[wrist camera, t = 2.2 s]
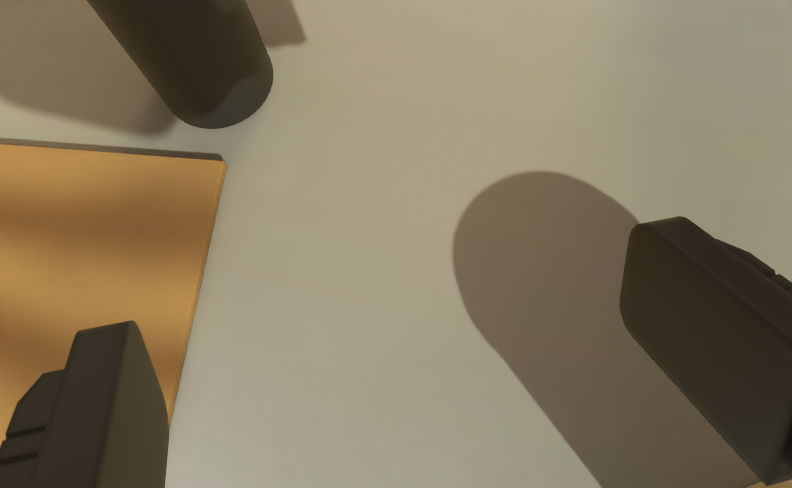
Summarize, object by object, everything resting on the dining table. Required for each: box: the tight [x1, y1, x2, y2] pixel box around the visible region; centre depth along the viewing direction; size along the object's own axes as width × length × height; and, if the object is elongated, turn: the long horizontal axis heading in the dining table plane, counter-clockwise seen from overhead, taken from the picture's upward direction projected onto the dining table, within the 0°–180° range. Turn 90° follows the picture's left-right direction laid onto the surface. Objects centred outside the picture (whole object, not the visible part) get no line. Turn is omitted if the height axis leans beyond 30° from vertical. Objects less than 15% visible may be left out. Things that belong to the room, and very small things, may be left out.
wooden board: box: [0, 144, 227, 446], centre depth 29 cm, size 20×15×1 cm
